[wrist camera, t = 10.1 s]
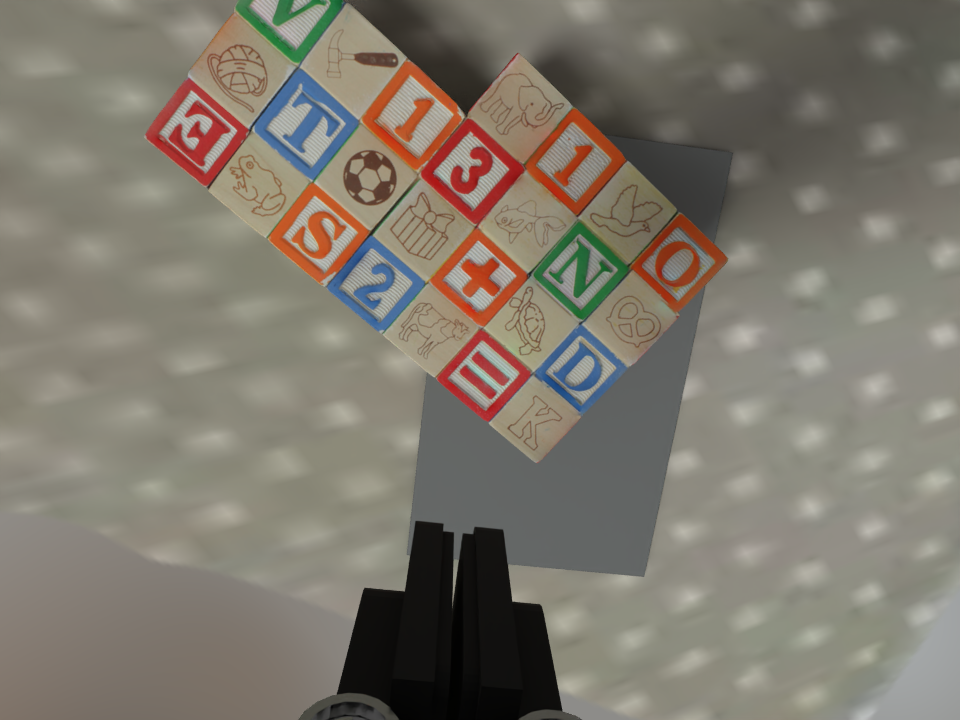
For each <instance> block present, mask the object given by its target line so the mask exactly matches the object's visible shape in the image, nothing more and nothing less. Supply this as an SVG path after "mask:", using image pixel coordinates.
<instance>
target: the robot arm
mask: <svg viewBox="0 0 960 720" xmlns="http://www.w3.org/2000/svg"><path fill="white" fill-rule="evenodd" d="M443 527H444V523H435V522H425V521H415V527H414V534H413V541H412V547H411V554H410V561H409V568H408V575H407V581H406V588H405V592H404V591H393V590H383V589H372V588H364V590H363V594H362V597H361V601H360V605H359V609H358V613H357V617H356V621H355V625H354V629H353V633H352V637H351V641H350V645H349V649H348V652H347V657H346V660H345V664H344V668H343V672H342V676H341V680H340V684H339V688H338V692H337V695H332V696H330V697H327V698H325V699H323V700H320V701H318V702H316V703H315V704H314V705H312V706H311V707H310V708H309V709H307V710H306V711H304V713H303V714H302V715H301V717H300V718H299V720H582V719H580V718H578V717H577V716H575V715H572V714H569V713H565V712H563V711H562V706H561V701H560V696H559V690H558V685H557V680H556V675H555V670H554V665H553V660H552V654H551V649H550V644H549V639H548V634H547V629H546V623H545V618H544V613H543V609H542V606H541V605H540V604H531V603H520V602H512V595H511V587H510V579H509V571H508V563H507V554H506V546H505V538H504V531H503V529H494V528H485V527H474V531H473V534H467V533H463V535H462V541H461V548H460V556H459V563H458V571H457V578H456V585H455V593H454V600H453V608H452V595H453V557H454V532H447V531H443Z"/></svg>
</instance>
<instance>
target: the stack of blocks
mask: <svg viewBox="0 0 960 720" xmlns="http://www.w3.org/2000/svg"><path fill="white" fill-rule="evenodd" d="M144 138H145V139H146V140H148V141H149V142H150V143H151V144H152V145H153V146H155V147H156V148H157V149H159V150H160V151H161V152H162V153H164V154H165V155H166V156H167V157H168V158H170V159H171V160H172V161H173V162H174V163H176V164H177V165H178V166H179V167H181V168H182V169H183V170H184V171H186V172H187V173H188V174H189V175H190V176H192V177H193V178H194V179H195V180H197V181H198V182H199V183H200V184H201V185H203V186H204V187H206V188H208V190H209V192H210V193H211V194H212V195H213V196H215V197H216V198H217V199H218V200H219V201H220V202H222V203H223V204H224V205H225V206H227V207H228V208H229V209H230V210H232V211H233V212H234V213H235V214H236V215H237V216H238V217H240V218H241V219H242V220H243V221H244V222H246V223H247V224H248V225H249V226H251V227H252V228H253V229H254V230H256V231H257V232H258V233H259V234H261V235H262V236H263V237H265V238H267V239H268V240H269V241H270V243H272V244H273V245H274V246H275V247H276V248H277V249H279V250H280V251H281V252H282V253H283V254H285V255H286V256H287V257H288V258H289V259H290V260H292V261H293V262H294V263H295V264H296V265H298V266H299V267H300V268H301V269H302V270H304V271H305V272H306V273H307V274H309V275H310V276H311V277H312V278H313V279H315V280H316V281H317V282H318V283H319V284H320V285H322V286H324V287H326V288H327V289H328V290H329V291H330V292H331V293H332V294H333V295H334V296H336V297H337V298H338V299H339V300H341V301H342V302H343V303H344V304H345V305H347V306H348V307H349V308H350V309H351V310H353V311H354V312H355V313H356V314H357V315H359V316H360V317H361V318H362V319H364V320H365V321H366V322H367V323H368V324H370V325H371V326H372V327H373V328H374V329H376V330H377V331H378V332H380V333H381V334H383V335H384V336H385V337H386V338H387V339H388V340H389V341H390V342H391V343H393V344H394V345H395V346H396V347H397V348H399V349H400V350H401V351H402V352H403V353H405V354H406V355H407V356H408V357H409V358H411V359H412V360H413V361H414V362H415V363H417V364H418V365H419V366H420V367H421V368H423V369H424V370H425V371H426V372H428V373H429V374H430V375H431V376H433V377H435V378H436V379H437V381H438V382H440V383H441V384H442V385H443V386H444V387H445V388H446V389H448V390H449V391H450V392H451V393H452V394H453V395H455V396H456V397H457V398H458V399H459V400H460V401H462V402H463V403H464V404H465V405H466V406H468V407H469V408H470V409H471V410H472V411H474V412H475V413H476V414H477V415H478V416H480V417H481V418H482V419H483V420H485V421H487V422H488V423H489V424H490V426H492V427H493V428H494V429H495V430H496V431H498V432H499V433H500V434H501V435H502V436H504V437H505V438H506V439H507V440H508V441H510V442H511V443H512V444H513V445H514V446H515V447H517V448H518V449H519V450H520V451H521V452H523V453H524V454H525V455H526V456H527V457H529V458H530V459H531V460H533V461H534V462H535V463H538V462H540V461H541V460H542V459H543V458H544V457H545V456H546V455H547V454H548V453H549V452H550V451H551V450H552V448H553V447H554V446H555V445H556V444H557V443H558V442H559V441H560V440H561V439H562V438H563V437H564V436H565V435H566V434H567V433H568V431H569V430H570V429H571V428H572V427H573V426H574V425H575V424H576V423H577V422H578V421H579V420H580V418H581V417H582V416H583V414H584V413H585V412H586V411H587V410H588V409H589V408H590V407H591V406H592V405H593V404H594V403H595V402H596V401H597V400H598V399H599V398H600V397H601V396H602V395H603V394H604V393H605V392H606V391H607V390H608V389H609V388H610V387H611V386H612V385H613V384H614V383H615V382H616V381H617V380H618V379H619V378H620V377H621V376H622V375H623V374H624V373H625V372H626V371H627V369H628V368H629V367H630V366H631V365H633V364H635V363H636V362H637V361H638V360H639V359H640V358H641V356H642V355H643V354H645V353H646V352H647V351H648V350H649V348H650V347H651V346H652V345H653V344H654V343H655V342H656V341H657V340H658V339H659V338H660V337H661V336H662V335H663V333H665V332H666V331H667V330H668V329H669V327H670V326H671V325H672V324H673V323H674V322H675V321H676V320H677V319H678V317H679V316H680V315H679V313H678V312H679V311H680V310H681V309H682V308H683V307H684V306H685V305H687V304H688V303H689V301H690V300H691V299H692V298H693V297H694V296H695V295H696V294H697V293H698V292H699V291H700V290H701V289H702V288H703V287H704V286H705V285H706V284H707V283H708V282H709V281H710V280H711V278H712V277H713V276H714V275H715V274H716V273H717V272H718V271H719V270H720V269H721V268H722V267H723V266H724V265H725V264H726V263H727V261H728V258H727V257H726V256H725V254H724V253H723V252H722V251H721V250H720V249H719V248H717V247H716V246H715V245H714V244H713V243H712V242H711V241H710V240H709V239H708V238H707V237H706V236H705V235H704V234H703V233H702V232H701V231H700V230H699V229H698V228H697V227H696V226H695V225H694V224H693V223H692V222H691V221H690V220H689V219H688V218H687V217H685V216H684V215H683V214H682V213H680V212H677V209H676V208H675V207H674V205H673V204H672V203H671V202H670V201H669V200H668V199H667V198H666V197H665V196H664V195H663V194H662V193H661V192H660V191H659V190H658V189H657V188H655V187H654V186H653V185H652V184H651V183H650V182H649V181H648V180H647V179H646V178H645V177H644V176H643V175H642V174H641V173H640V172H639V171H638V170H637V169H636V168H635V167H634V166H633V165H632V164H631V163H630V162H629V161H627V160H626V159H625V157H624V156H623V154H622V153H621V152H620V151H619V150H618V149H617V147H616V146H615V145H614V144H613V143H612V142H611V141H610V140H608V139H607V138H606V137H605V136H604V135H603V134H602V133H601V132H600V131H599V130H598V129H597V128H596V127H595V126H594V125H593V124H592V123H591V122H590V121H589V120H588V119H587V118H586V117H585V116H584V115H583V114H582V113H581V112H580V111H578V110H577V109H576V108H575V107H573V106H572V105H571V103H570V102H569V101H568V100H567V99H566V98H565V97H564V96H563V95H562V94H561V93H560V92H559V91H558V90H557V89H556V88H555V87H554V86H553V85H552V84H551V83H549V82H548V81H547V80H546V79H545V78H544V77H543V76H542V75H541V74H540V73H539V72H538V71H537V70H536V69H535V68H534V67H533V66H532V65H531V64H530V63H529V62H528V61H527V60H526V59H525V58H524V57H523V56H522V55H521V54H520V53H517V54H516V55H515V56H514V57H513V58H512V60H511V61H510V62H509V63H508V65H507V66H506V67H505V68H504V69H503V71H502V72H501V73H500V74H499V75H498V77H497V78H496V79H495V80H494V81H493V82H492V84H491V85H490V86H489V88H488V89H487V90H486V91H485V92H484V93H483V94H482V96H481V97H480V98H479V99H478V100H477V101H476V103H475V104H474V105H473V106H472V107H471V109H470V110H469V112H468V115H467V116H466V115H465V114H464V112H463V111H462V110H461V109H460V108H459V106H458V105H457V104H456V103H455V102H454V101H453V100H452V99H451V98H450V97H449V96H448V95H447V94H446V93H445V92H444V91H443V90H442V89H441V88H440V87H439V86H438V85H437V84H436V83H435V82H433V81H432V80H431V79H430V78H429V77H428V76H427V75H426V74H425V73H424V72H423V71H422V70H421V69H420V68H419V67H418V66H417V65H416V64H414V63H413V62H412V61H410V60H409V59H408V58H407V57H406V56H405V55H404V54H403V53H402V52H401V51H400V50H399V49H398V48H397V47H396V46H395V45H394V44H393V43H392V42H391V41H389V40H388V39H387V38H386V37H385V36H384V35H383V34H382V33H381V32H380V31H379V30H378V29H377V28H376V27H375V26H373V25H372V24H371V23H370V22H369V21H368V20H367V19H366V18H365V17H364V16H363V15H362V14H361V13H360V12H358V11H357V10H356V9H355V8H354V7H353V6H352V5H351V4H349V3H345V2H344V0H238V2H237V3H236V6H235V8H234V13H233V14H232V15H231V16H230V18H229V19H228V20H227V21H226V22H225V24H224V25H223V26H222V27H221V29H220V30H219V31H218V32H217V34H216V35H215V37H214V38H213V39H212V41H211V42H210V44H209V45H208V46H207V48H206V49H205V50H204V52H203V53H202V55H201V56H200V57H199V58H198V60H197V61H196V62H195V64H194V65H193V66H192V68H191V69H190V71H189V73H188V78H187V79H186V80H185V81H184V82H183V83H182V84H181V86H180V87H179V88H178V90H177V91H176V93H175V94H174V95H173V96H172V98H171V99H170V100H169V101H168V102H167V104H166V105H165V107H164V108H163V110H162V111H161V112H160V113H159V115H158V116H157V117H156V119H155V120H154V122H153V123H152V124H151V126H150V127H149V129H148V130H147V132H146V134H145V136H144Z"/></svg>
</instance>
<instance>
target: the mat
mask: <svg viewBox="0 0 960 720" xmlns="http://www.w3.org/2000/svg"><path fill="white" fill-rule="evenodd" d="M466 116H467V115H466ZM603 135H604V134H603ZM604 136H605V137H606V138H607V139H608V140H610V141H611V142H612V143H613V144H614V145H615V146H616V147H617V149H618V150H619V151H620V152H621V153H622V154H623V156H624V157H625V159H626V160H627V161H629V162H630V163H631V164H632V165H633V166H634V167H635V168H636V169H637V170H638V171H639V172H640V173H641V174H642V175H643V176H644V177H645V178H646V179H647V180H648V181H649V182H650V183H651V184H652V185H653V186H654V187H655V188H657V189H658V190H659V191H660V192H661V193H662V194H663V195H664V196H665V197H666V198H667V199H668V200H669V201H670V202H671V203H672V204H673V205H674V207H675V208H676V209H677V212H680V213H682V214H683V215H684V216H685V217H687V218H688V219H689V220H690V221H691V222H692V223H693V224H694V225H695V226H696V227H697V228H698V229H699V230H700V231H701V232H702V233H703V234H704V235H705V236H706V237H707V238H708V239H709V240H710V241H711V242H712V243H713V244H714V241H715V236H716V231H717V226H718V222H719V217H720V212H721V207H722V203H723V198H724V193H725V188H726V184H727V179H728V174H729V169H730V164H731V160H732V155H733V153H732V152H724V151H717V150H710V149H703V148H696V147H689V146H682V145H675V144H668V143H661V142H653V141H646V140H639V139H632V138H625V137H618V136H611V135H604ZM704 288H705V286H704V287H703V288H702V289H701V290H700V291H699V292H698V293H697V294H696V295H695V296H694V297H693V298H692V299H691V300H690V301H689V303H688V304H687V305H685V306H684V307H683V308H682V309H681V310H680V311H679V312H678V313H679V315H680V316H679V317H678V319H677V320H676V321H675V322H674V323H673V324H672V325H671V326H670V327H669V329H668V330H667V331H666V332H665V333H663V335H662V336H661V337H660V338H659V339H658V340H657V341H656V342H655V343H654V344H653V345H652V346H651V347H650V348H649V350H648V351H647V352H646V353H645V354H643V355H642V356H641V358H640V359H639V360H638V361H637V362H636V363H635V364H633V365H631V366H630V367H629V368H628V369H627V371H626V372H625V373H624V374H623V375H622V376H621V377H620V378H619V379H618V380H617V381H616V382H615V383H614V384H613V385H612V386H611V387H610V388H609V389H608V390H607V391H606V392H605V393H604V394H603V395H602V396H601V397H600V398H599V399H598V400H597V401H596V402H595V403H594V404H593V405H592V406H591V407H590V408H589V409H588V410H587V411H586V412H585V413H584V414H583V416H582V417H581V418H580V420H579V421H578V422H577V423H576V424H575V425H574V426H573V427H572V428H571V429H570V430H569V431H568V433H567V434H566V435H565V436H564V437H563V438H562V439H561V440H560V441H559V442H558V443H557V444H556V445H555V446H554V447H553V448H552V450H551V451H550V452H549V453H548V454H547V455H546V456H545V457H544V458H543V459H542V460H541V461H540V462H538V463H535V462H534V461H533V460H531V459H530V458H529V457H527V456H526V455H525V454H524V453H523V452H521V451H520V450H519V449H518V448H517V447H515V446H514V445H513V444H512V443H511V442H510V441H508V440H507V439H506V438H505V437H504V436H502V435H501V434H500V433H499V432H498V431H496V430H495V429H494V428H493V427H492V426H490V424H489V423H488V422H487V421H485V420H483V419H482V418H481V417H480V416H478V415H477V414H476V413H475V412H474V411H472V410H471V409H470V408H469V407H468V406H466V405H465V404H464V403H463V402H462V401H460V400H459V399H458V398H457V397H456V396H455V395H453V394H452V393H451V392H450V391H449V390H448V389H446V388H445V387H444V386H443V385H442V384H441V383H440V382H438V381H437V379H436V378H435V377H433V376H431V375H430V374H429V373H428V372H427V377H426V386H425V395H424V404H423V413H422V422H421V431H420V440H419V449H418V458H417V467H416V476H415V485H414V494H413V503H412V512H411V521H410V530H409V540H408V549H407V555H410V554H411V547H412V541H413V534H414V527H415V521H425V522H435V523H444V527H443V531H447V532H454V557H453V559H457V560H459V556H460V548H461V541H462V535H463V533H467V534H473V531H474V527H485V528H494V529H503V531H504V538H505V546H506V554H507V563H508V564H511V565H522V566H533V567H544V568H555V569H566V570H577V571H587V572H598V573H609V574H620V575H631V576H642V577H644V575H645V570H646V565H647V560H648V556H649V551H650V546H651V541H652V536H653V532H654V527H655V522H656V517H657V513H658V508H659V503H660V498H661V494H662V489H663V484H664V479H665V474H666V470H667V465H668V460H669V455H670V451H671V446H672V441H673V436H674V432H675V427H676V422H677V417H678V412H679V408H680V403H681V398H682V393H683V389H684V384H685V379H686V374H687V370H688V365H689V360H690V355H691V350H692V346H693V341H694V336H695V331H696V327H697V322H698V317H699V312H700V308H701V303H702V298H703V293H704Z"/></svg>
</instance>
